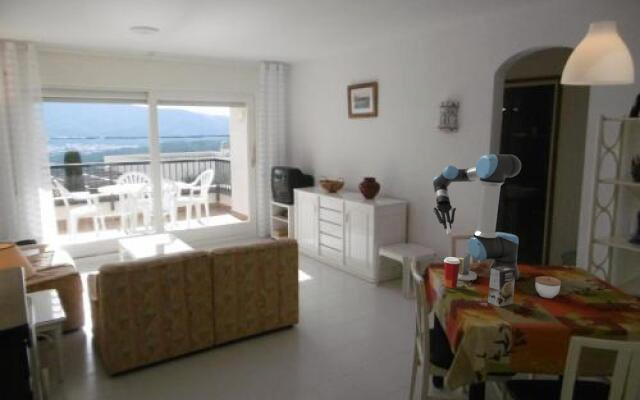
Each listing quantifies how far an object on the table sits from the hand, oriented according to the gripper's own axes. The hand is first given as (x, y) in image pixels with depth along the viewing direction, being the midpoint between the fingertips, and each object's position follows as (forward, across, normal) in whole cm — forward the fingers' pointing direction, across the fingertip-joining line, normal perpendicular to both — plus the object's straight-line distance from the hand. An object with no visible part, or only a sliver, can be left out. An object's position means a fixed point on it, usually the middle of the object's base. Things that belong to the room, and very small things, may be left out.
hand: (448, 233), depth 248 cm
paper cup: (+35, +6, +6) cm, 36 cm away
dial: (+22, -5, -3) cm, 23 cm away
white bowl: (+43, -36, +14) cm, 57 cm away
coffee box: (+50, -10, +21) cm, 55 cm away
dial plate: (+24, -5, -4) cm, 24 cm away
